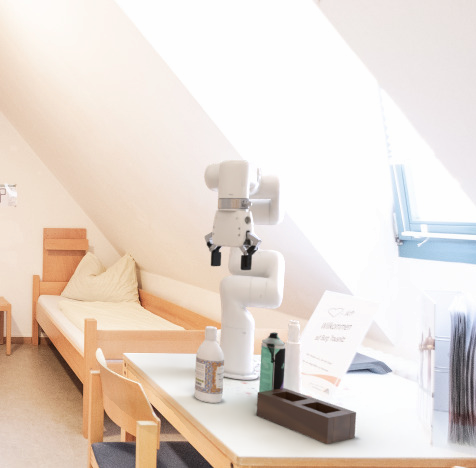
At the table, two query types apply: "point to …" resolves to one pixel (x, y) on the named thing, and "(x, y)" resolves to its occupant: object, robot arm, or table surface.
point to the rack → (307, 415)
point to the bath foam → (209, 368)
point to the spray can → (272, 363)
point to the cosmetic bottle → (293, 359)
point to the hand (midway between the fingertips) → (230, 268)
